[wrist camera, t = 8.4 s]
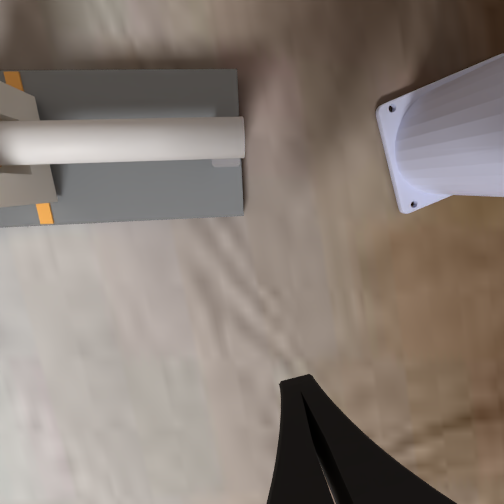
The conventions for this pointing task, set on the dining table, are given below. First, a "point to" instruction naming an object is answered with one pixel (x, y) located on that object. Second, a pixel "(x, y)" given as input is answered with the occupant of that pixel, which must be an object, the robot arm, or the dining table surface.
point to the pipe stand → (129, 144)
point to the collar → (23, 176)
